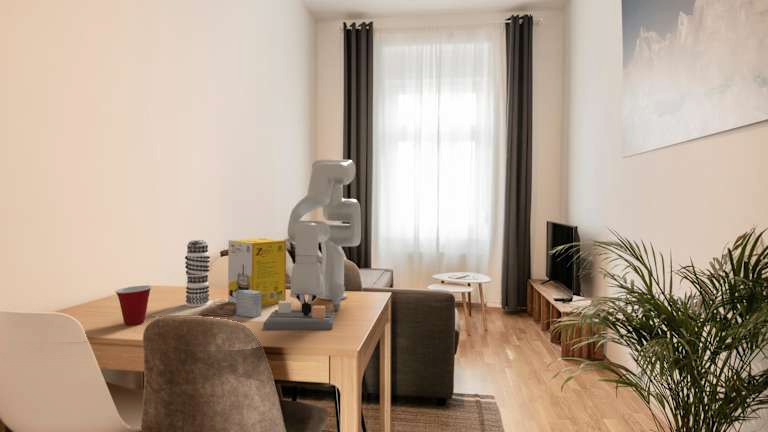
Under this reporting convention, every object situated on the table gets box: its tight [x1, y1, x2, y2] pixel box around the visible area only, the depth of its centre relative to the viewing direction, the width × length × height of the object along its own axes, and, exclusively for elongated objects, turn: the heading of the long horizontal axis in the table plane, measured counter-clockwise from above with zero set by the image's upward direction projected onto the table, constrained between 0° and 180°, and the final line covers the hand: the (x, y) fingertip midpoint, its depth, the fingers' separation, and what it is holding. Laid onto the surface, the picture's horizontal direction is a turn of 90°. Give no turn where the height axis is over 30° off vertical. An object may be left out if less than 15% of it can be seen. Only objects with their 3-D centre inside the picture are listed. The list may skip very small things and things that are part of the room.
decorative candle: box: [184, 239, 211, 308], centre depth 180 cm, size 9×9×25 cm
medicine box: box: [235, 290, 262, 318], centre depth 165 cm, size 8×4×9 cm, turn 65°
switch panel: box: [263, 309, 336, 330], centre depth 156 cm, size 15×22×3 cm
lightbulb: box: [329, 281, 346, 311], centre depth 174 cm, size 6×6×11 cm
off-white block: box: [277, 300, 292, 313], centre depth 159 cm, size 3×4×4 cm
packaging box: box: [227, 237, 287, 307], centre depth 186 cm, size 16×16×25 cm
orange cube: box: [311, 305, 326, 318], centre depth 152 cm, size 3×4×4 cm
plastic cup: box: [114, 285, 153, 326], centre depth 152 cm, size 11×11×12 cm
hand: (306, 314), depth 152 cm, fingers closed
